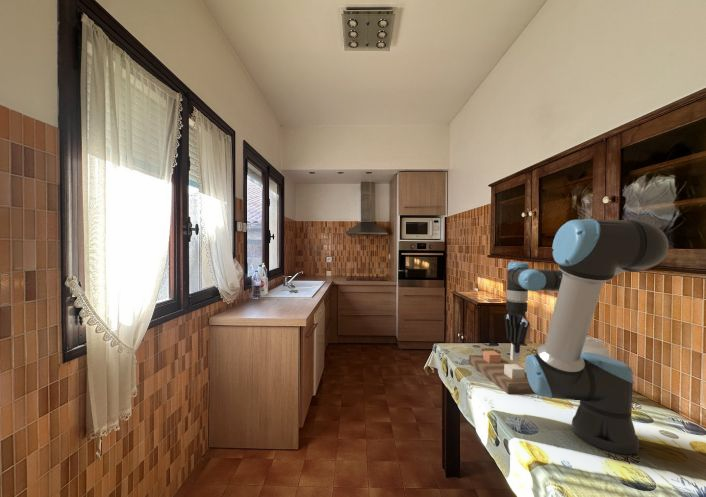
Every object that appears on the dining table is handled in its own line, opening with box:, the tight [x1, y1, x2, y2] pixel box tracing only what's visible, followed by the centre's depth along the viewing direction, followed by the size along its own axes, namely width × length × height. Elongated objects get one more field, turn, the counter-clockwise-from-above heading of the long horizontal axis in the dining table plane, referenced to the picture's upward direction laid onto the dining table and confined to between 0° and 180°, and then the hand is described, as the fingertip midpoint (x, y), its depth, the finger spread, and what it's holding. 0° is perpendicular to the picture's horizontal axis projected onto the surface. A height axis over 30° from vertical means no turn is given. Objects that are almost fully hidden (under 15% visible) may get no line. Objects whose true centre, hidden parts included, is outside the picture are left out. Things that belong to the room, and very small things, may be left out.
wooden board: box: [468, 354, 536, 395], centre depth 131 cm, size 30×14×4 cm, turn 7°
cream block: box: [504, 363, 526, 379], centre depth 123 cm, size 5×5×4 cm
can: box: [581, 336, 611, 358], centre depth 122 cm, size 12×12×20 cm
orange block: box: [482, 350, 502, 363], centre depth 139 cm, size 5×5×4 cm
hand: (514, 359), depth 123 cm, fingers closed
